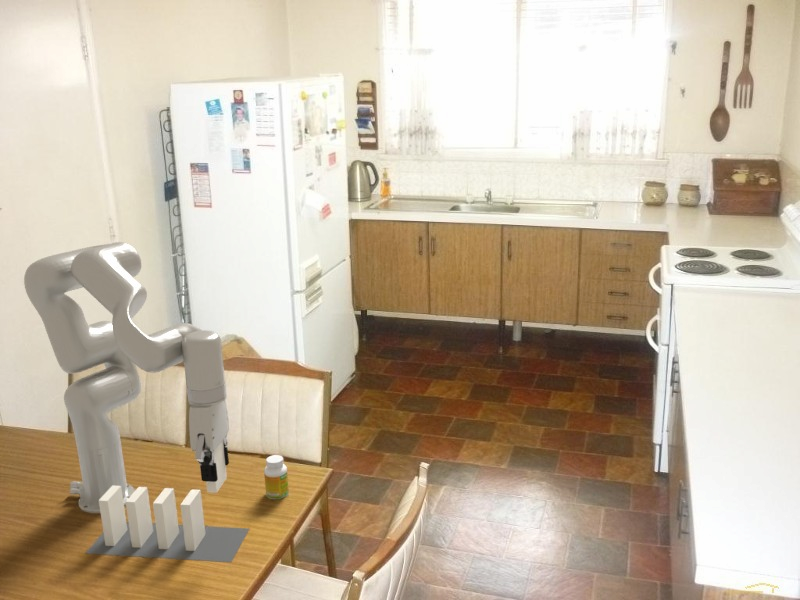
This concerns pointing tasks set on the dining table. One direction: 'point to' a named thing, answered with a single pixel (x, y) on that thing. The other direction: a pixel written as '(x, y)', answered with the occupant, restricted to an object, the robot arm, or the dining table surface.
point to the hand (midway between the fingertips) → (215, 471)
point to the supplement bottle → (276, 477)
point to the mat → (178, 545)
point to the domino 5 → (221, 468)
